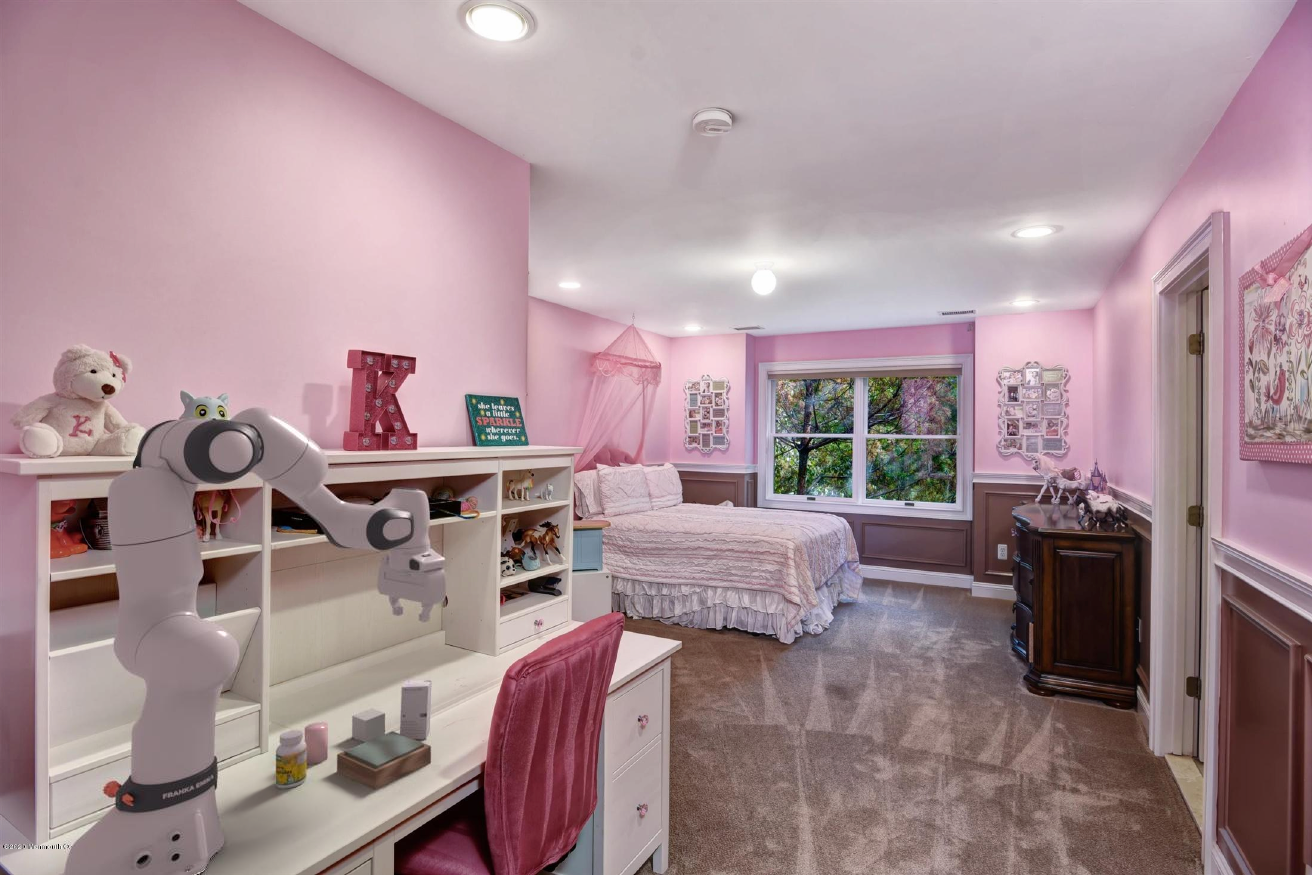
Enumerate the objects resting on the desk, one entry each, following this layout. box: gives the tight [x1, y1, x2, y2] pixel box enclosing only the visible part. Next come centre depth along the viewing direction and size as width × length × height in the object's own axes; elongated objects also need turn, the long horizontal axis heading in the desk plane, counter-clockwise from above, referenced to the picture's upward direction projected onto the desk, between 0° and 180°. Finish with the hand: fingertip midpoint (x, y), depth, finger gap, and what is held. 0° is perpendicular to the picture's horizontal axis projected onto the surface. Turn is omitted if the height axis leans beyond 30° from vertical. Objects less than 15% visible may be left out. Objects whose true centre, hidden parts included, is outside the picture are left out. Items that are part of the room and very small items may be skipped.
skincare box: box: [399, 679, 433, 740], centre depth 152 cm, size 6×4×12 cm
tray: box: [336, 730, 432, 791], centre depth 137 cm, size 13×13×4 cm
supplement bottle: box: [275, 729, 308, 789], centre depth 131 cm, size 5×5×10 cm
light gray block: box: [351, 708, 386, 743], centre depth 151 cm, size 5×5×5 cm
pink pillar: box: [304, 721, 329, 766], centre depth 140 cm, size 4×4×7 cm
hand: (410, 618), depth 150 cm, fingers open, 8 cm apart
